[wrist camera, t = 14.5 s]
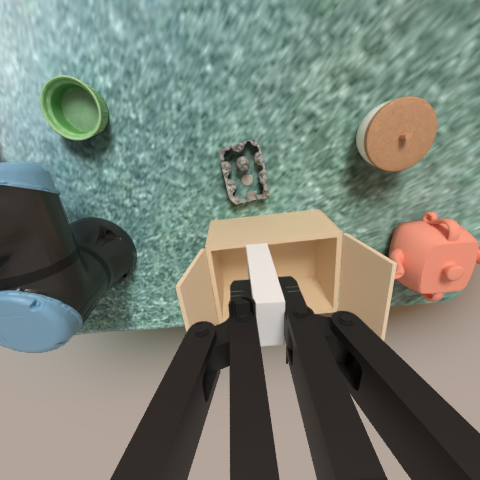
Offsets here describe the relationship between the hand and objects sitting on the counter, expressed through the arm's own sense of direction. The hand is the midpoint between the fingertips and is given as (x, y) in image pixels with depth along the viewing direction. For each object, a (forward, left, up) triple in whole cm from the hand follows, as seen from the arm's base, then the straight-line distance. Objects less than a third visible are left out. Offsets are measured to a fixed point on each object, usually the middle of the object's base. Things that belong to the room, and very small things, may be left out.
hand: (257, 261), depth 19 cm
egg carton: (+1, 0, -34) cm, 34 cm away
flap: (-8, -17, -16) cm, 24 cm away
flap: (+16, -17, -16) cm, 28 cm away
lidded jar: (+25, +4, -34) cm, 42 cm away
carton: (+4, -17, -33) cm, 37 cm away
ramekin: (-25, +13, -34) cm, 44 cm away
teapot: (+35, -19, -34) cm, 52 cm away
